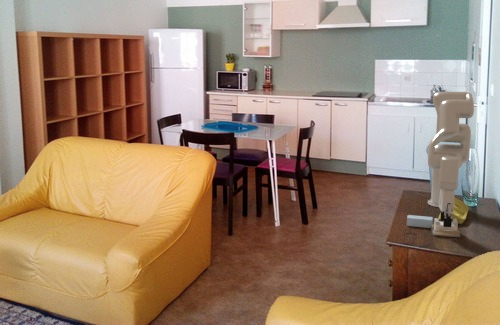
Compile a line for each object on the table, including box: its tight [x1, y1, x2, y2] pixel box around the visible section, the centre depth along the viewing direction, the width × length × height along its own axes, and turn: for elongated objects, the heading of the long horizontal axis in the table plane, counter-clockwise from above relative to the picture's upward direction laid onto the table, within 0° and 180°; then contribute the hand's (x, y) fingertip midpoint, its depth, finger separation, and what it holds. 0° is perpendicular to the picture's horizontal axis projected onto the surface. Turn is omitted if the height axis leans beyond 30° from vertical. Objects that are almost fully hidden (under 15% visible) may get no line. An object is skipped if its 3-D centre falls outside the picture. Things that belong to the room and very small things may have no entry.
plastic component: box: [438, 196, 469, 225], centre depth 246 cm, size 20×7×10 cm
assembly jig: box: [430, 222, 461, 238], centre depth 226 cm, size 10×11×3 cm
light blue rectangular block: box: [406, 214, 434, 229], centre depth 236 cm, size 4×11×4 cm, turn 69°
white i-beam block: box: [433, 217, 459, 231], centre depth 226 cm, size 5×9×5 cm, turn 77°
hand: (445, 223), depth 225 cm, fingers open, 8 cm apart
